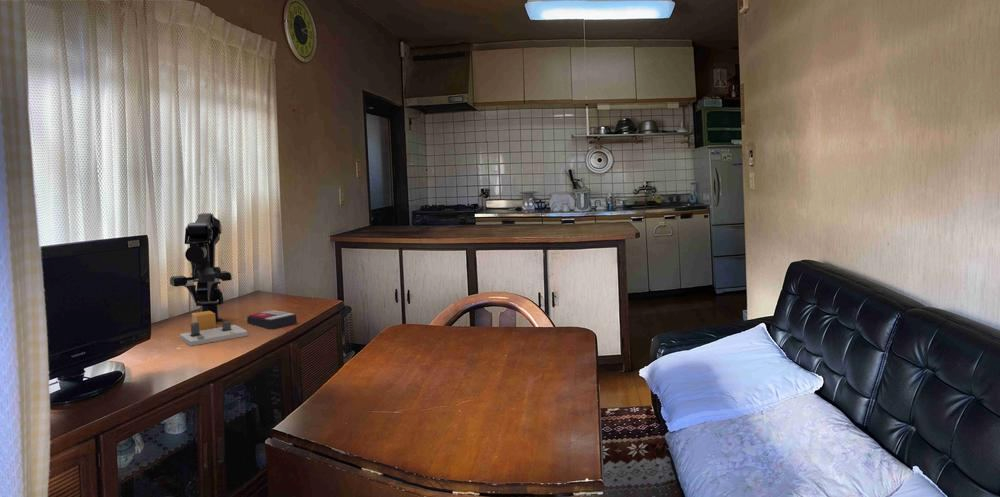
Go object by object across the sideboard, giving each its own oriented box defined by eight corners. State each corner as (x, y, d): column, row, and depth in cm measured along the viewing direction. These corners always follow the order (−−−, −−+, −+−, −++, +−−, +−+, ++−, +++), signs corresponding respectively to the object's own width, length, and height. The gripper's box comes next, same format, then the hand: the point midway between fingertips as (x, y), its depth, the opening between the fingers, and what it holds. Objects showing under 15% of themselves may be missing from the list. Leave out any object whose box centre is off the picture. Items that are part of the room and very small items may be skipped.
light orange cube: (192, 329, 206) (191, 313, 205) (210, 326, 210) (209, 310, 209) (198, 333, 201) (196, 316, 201) (216, 329, 205) (215, 313, 205)
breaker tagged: (221, 333, 200) (221, 322, 200) (229, 332, 202) (228, 321, 202) (224, 335, 199) (223, 323, 198) (232, 333, 200) (231, 322, 200)
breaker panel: (180, 338, 195) (179, 332, 194) (235, 328, 207) (234, 323, 207) (190, 346, 186) (190, 339, 186) (247, 335, 198) (247, 329, 198)
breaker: (190, 335, 193) (189, 323, 193) (198, 333, 195) (197, 322, 195) (192, 336, 192) (191, 324, 191) (200, 335, 193) (200, 323, 193)
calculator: (272, 309, 224) (296, 312, 215) (273, 320, 224) (297, 323, 215) (246, 314, 215) (270, 318, 206) (247, 326, 215) (271, 330, 206)
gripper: (177, 264, 190) (180, 310, 192) (236, 258, 203) (238, 302, 205) (168, 260, 198) (171, 305, 200) (225, 255, 211) (227, 297, 213)
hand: (202, 302), depth 204 cm, fingers open, 4 cm apart
